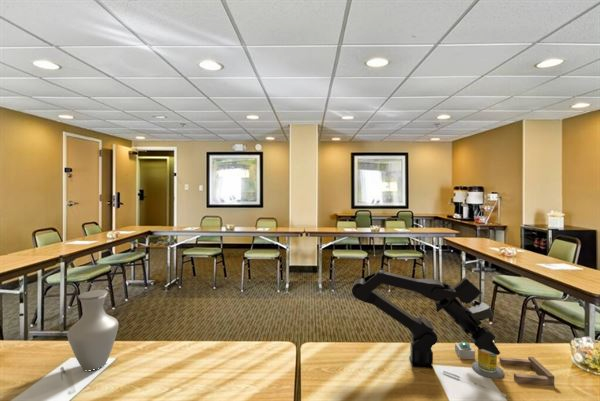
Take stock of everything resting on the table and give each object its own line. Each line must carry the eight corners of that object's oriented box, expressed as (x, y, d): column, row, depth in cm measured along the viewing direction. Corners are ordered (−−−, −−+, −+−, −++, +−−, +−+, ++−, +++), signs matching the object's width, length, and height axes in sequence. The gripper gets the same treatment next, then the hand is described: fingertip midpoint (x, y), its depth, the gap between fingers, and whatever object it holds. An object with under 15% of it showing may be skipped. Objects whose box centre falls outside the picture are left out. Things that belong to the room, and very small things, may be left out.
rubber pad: (478, 377, 98) (478, 375, 98) (467, 361, 107) (467, 360, 107) (509, 380, 96) (509, 378, 96) (496, 364, 105) (496, 362, 105)
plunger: (461, 355, 110) (461, 345, 110) (458, 350, 113) (458, 341, 113) (471, 356, 109) (471, 346, 109) (467, 351, 112) (467, 342, 112)
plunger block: (459, 358, 109) (459, 349, 109) (455, 350, 114) (455, 342, 114) (474, 359, 108) (475, 351, 108) (469, 352, 113) (469, 344, 113)
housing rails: (516, 382, 95) (516, 373, 95) (499, 362, 106) (499, 354, 106) (554, 386, 93) (554, 376, 93) (533, 365, 104) (533, 357, 104)
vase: (128, 355, 111) (127, 287, 110) (98, 380, 96) (96, 302, 96) (91, 353, 112) (90, 286, 111) (56, 377, 98) (54, 300, 97)
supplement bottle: (482, 362, 105) (483, 334, 105) (499, 369, 101) (500, 341, 101) (474, 367, 102) (474, 339, 102) (491, 375, 98) (492, 345, 98)
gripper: (488, 306, 92) (528, 345, 91) (465, 287, 111) (498, 319, 109) (460, 330, 94) (498, 369, 92) (442, 307, 112) (474, 339, 111)
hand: (492, 346), depth 101 cm, fingers open, 8 cm apart
